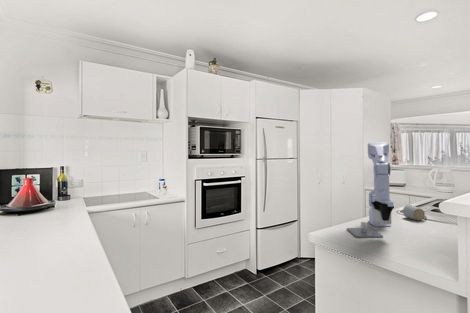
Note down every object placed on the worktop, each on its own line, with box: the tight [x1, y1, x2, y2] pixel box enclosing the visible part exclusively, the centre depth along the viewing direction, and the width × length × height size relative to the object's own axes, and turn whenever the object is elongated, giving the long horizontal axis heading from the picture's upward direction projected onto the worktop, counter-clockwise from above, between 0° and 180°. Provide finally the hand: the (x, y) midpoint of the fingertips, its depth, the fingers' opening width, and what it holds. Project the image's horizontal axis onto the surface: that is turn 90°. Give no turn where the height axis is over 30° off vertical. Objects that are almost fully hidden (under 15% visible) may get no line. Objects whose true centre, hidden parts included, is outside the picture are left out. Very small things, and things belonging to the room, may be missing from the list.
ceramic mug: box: [402, 204, 428, 221], centre depth 146 cm, size 11×8×8 cm
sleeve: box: [374, 209, 392, 225], centre depth 118 cm, size 5×5×6 cm
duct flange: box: [346, 221, 384, 239], centre depth 124 cm, size 12×12×5 cm
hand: (382, 218), depth 118 cm, fingers closed on sleeve, 5 cm apart
